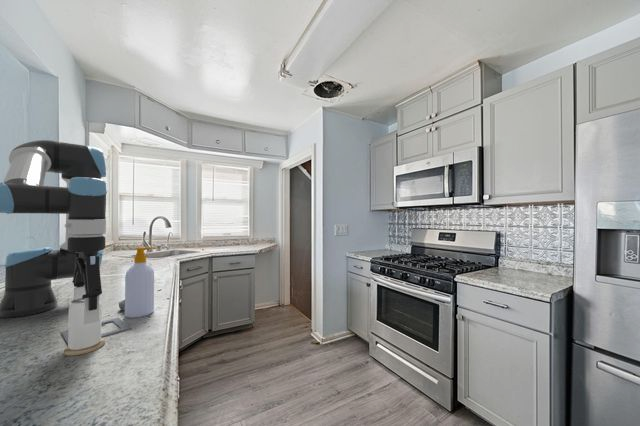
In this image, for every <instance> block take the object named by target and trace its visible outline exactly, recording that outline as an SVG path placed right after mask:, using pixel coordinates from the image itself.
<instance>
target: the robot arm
mask: <svg viewBox="0 0 640 426" xmlns="http://www.w3.org/2000/svg"><path fill="white" fill-rule="evenodd" d="M104 155H105V154H104V152H103V150H102V149H100V147H99V148H98V147H94V146H89V145H84V144H76V143H69V142H61V141H55V140H48V139H47V140H45V139H43V140H42V139H41V140H32V141H28V142H26V143H24V142H23V143H22V144H19V145H17V146H16V147H15V148H13V149H12V150H11V151H10V153H9V156H8V161H9V163H10V165H9V168H8V169H7V172H6V174H5V177H4V179H3V181H2V182H0V214H7V215H9V214H10V215H12V214H54V215H55V214H56V215H57V214H58V215H60V214H61V215H62V214H63V215H64V214H65V224H64V227H65V240H64V242H63V243H62V244H60V246H59V249H57V250H53V248H52V246H47V247H46V246H44V247H36V248H30V249H23V250H18V251H13V252H10V253H8V255H7V256H6V258H5V259H6V260H5V265H4V268H5V283H4V295H3V296H2V299H1V300H0V318H1V319H6V318H7V319H8V318H9V319H10V318H19V317H24V316H25V317H26V316H31V315H36V314H38V313H45V312H47V311H50V310H52V309H55V308H56V307H57V306H58V299H57V296H56V294H55V292H54V289H53V288H52V281H55V280H56V281H57V280H63V279H72V281H71V282H72V283H73V287H74V288H73V300H75V299H79V298H82V299H83V298H84V325H85V324H89V323H93V322H97V321H99V300H100V298H99V297H100V295H102V294H103V290H102V280H101V279H102V278H101V269H100V268H101V266H102V260H103V253H104V252H103V251H104V250H105V249H106V237H105V236H104V235H105V234H106V233H107V219H106V218H107V217H106V211H107V193H108V191H107V190H108V189H107V182H106V181H105V180H104V179H102V178H106V177H107V166H106V160H105V156H104ZM46 173H54V174H61V175H60V176H61V179H62V180H63V181H64V182H65V183H66V186H64V187H63V186H62V187H61V186H50V185H49V186H48V185H45V179H46Z"/></svg>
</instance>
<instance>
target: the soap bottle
mask: <svg viewBox="0 0 640 426" xmlns="http://www.w3.org/2000/svg"><path fill="white" fill-rule="evenodd" d="M151 249H153V250H156V249H157V247H154V246H152V247H151V246H150V247H148V246H147V247H136V254H135V255H134V263H133V265H131V266H130V267H129V268H128V269H127V271H126V273H125V277H124V281H125V282H124V283H125V284H124V285H125V286H124V300H125V311H124V316H125V317H126V318H130V319H132V318H134V319H135V318H140V317H145V316H149V315H150V314H152V313H153V312H154V310H155V270H154V268H153V267H152V266H151V265H150V264H148V263H147V255H146V254H145V250H151Z"/></svg>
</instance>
